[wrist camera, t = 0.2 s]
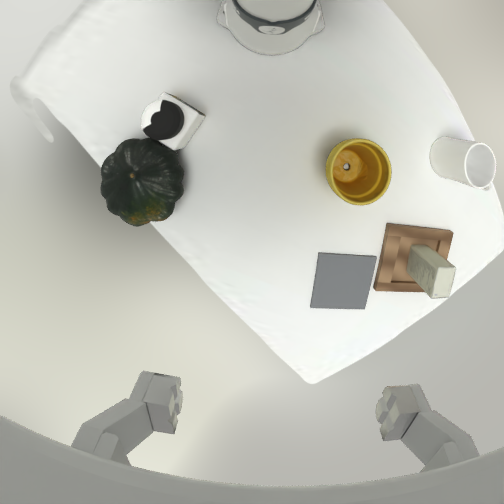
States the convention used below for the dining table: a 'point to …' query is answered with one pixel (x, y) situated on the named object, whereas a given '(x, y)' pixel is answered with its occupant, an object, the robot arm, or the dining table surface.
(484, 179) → the mug
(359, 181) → the plant pot
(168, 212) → the squash
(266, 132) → the dining table surface
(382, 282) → the walnut tray
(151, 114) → the medicine bottle
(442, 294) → the skincare box
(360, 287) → the mat
